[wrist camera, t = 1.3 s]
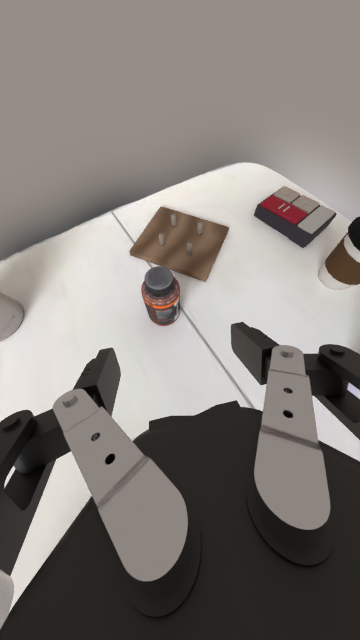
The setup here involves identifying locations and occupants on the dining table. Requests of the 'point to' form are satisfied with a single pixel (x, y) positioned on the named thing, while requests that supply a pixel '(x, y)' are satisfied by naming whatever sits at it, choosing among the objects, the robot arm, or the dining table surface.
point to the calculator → (294, 215)
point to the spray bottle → (354, 390)
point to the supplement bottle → (161, 295)
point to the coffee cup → (343, 261)
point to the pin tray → (180, 243)
